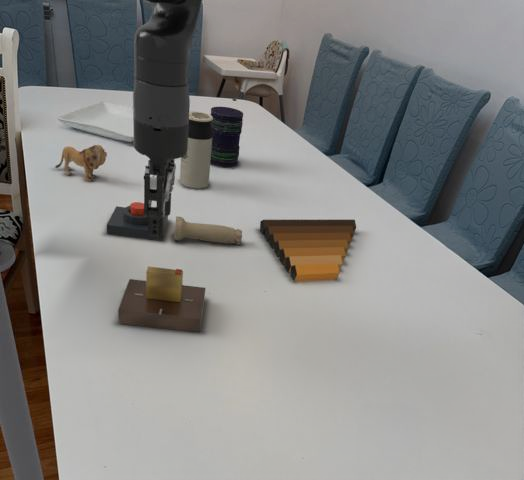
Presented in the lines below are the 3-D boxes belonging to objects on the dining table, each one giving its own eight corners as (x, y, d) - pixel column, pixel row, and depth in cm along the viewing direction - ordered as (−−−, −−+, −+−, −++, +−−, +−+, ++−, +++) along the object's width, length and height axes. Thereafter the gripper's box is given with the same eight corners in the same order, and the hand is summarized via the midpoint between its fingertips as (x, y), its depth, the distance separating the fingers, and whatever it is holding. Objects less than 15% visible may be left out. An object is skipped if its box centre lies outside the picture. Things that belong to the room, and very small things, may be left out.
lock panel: (118, 324, 85) (118, 309, 83) (129, 292, 93) (129, 277, 91) (200, 332, 87) (201, 318, 85) (204, 300, 95) (205, 286, 93)
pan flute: (348, 228, 131) (259, 229, 123) (351, 216, 129) (261, 216, 120) (395, 278, 113) (295, 283, 105) (400, 265, 111) (298, 269, 103)
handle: (241, 251, 113) (174, 242, 109) (237, 242, 118) (174, 234, 115) (244, 230, 110) (176, 221, 107) (241, 222, 116) (176, 213, 112)
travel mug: (205, 178, 143) (210, 112, 132) (210, 189, 137) (216, 121, 126) (178, 177, 141) (180, 109, 130) (181, 188, 135) (185, 118, 124)
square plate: (103, 111, 179) (102, 99, 176) (172, 129, 175) (173, 117, 172) (56, 128, 158) (55, 115, 156) (133, 148, 154) (133, 135, 151)
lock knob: (146, 298, 87) (146, 270, 84) (147, 293, 89) (147, 264, 85) (180, 302, 88) (182, 274, 84) (181, 296, 89) (183, 269, 86)
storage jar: (223, 170, 151) (230, 106, 140) (200, 159, 155) (204, 97, 144) (244, 164, 158) (251, 103, 146) (220, 154, 161) (226, 94, 150)
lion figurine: (111, 178, 133) (109, 144, 128) (101, 185, 129) (99, 149, 124) (60, 166, 135) (56, 131, 129) (49, 172, 130) (45, 137, 125)
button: (128, 215, 110) (128, 207, 109) (131, 208, 113) (131, 201, 112) (145, 217, 110) (145, 209, 109) (147, 210, 113) (147, 203, 112)
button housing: (107, 234, 109) (106, 217, 107) (116, 215, 117) (115, 198, 115) (162, 240, 111) (162, 224, 108) (167, 221, 118) (168, 205, 116)
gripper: (142, 99, 73) (143, 204, 83) (123, 126, 62) (126, 243, 72) (193, 107, 74) (188, 210, 84) (183, 135, 63) (178, 249, 73)
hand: (159, 225), depth 78 cm, fingers open, 8 cm apart
